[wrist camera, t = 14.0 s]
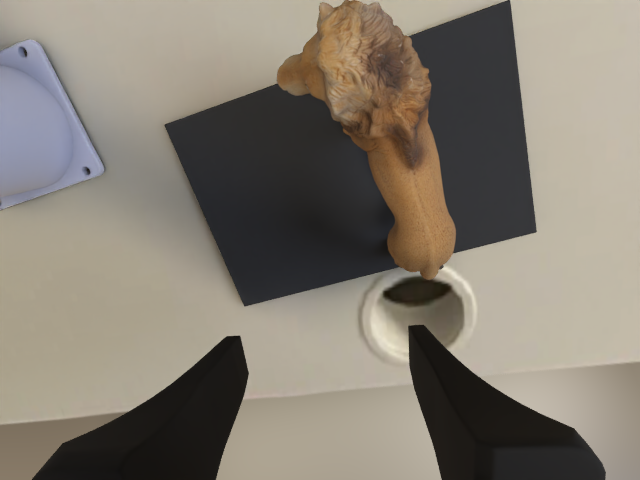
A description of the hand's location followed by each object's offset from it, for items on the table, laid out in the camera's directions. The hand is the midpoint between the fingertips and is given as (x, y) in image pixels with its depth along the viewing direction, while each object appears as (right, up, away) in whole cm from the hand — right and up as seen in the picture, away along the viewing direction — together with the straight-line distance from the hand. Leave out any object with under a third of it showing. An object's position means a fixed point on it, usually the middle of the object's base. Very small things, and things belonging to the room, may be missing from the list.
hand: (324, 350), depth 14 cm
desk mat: (+2, +9, +7) cm, 11 cm away
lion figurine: (+4, +9, +6) cm, 12 cm away
